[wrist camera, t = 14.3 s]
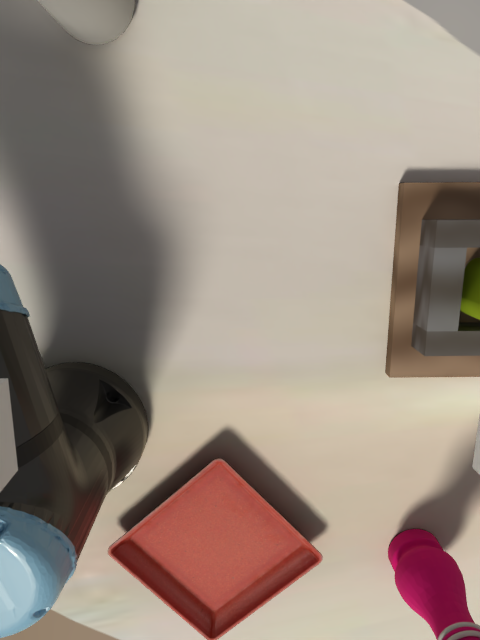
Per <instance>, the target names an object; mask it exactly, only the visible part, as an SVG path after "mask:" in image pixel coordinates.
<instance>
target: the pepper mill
mask: <svg viewBox="0 0 480 640" xmlns="http://www.w3.org/2000/svg"><path fill="white" fill-rule="evenodd" d="M388 557H389V560H390V562H391V565H392V567H393V569H394V571H395V582H396V586H397V589H398V591H399V592H400V594H401V596H402V598H403V599H404V601H405V602H406V603H407V604H408V605H409V606H410V607H411V609H413V610H414V611H415V612H416V613H417V614H419V615H420V616H421V617H422V618H424V619H425V620H426V621H427V622H428V624H429V625H430V627H431V628H432V630H433V632H434V634H435V636H436V639H437V640H480V626H479V625H477V624H475V623H474V621H473V619H472V617H471V615H470V613H469V611H468V607H467V601H466V591H465V584H464V580H463V576H462V573H461V571H460V569H459V567H458V565H457V563H456V562H455V560H454V559H453V558H452V557H451V556H450V555H449V554H448V553H446V552H445V551H443V549H442V547H441V546H440V544H439V542H438V541H437V539H436V538H435V537H434V536H433V535H432V534H431V533H429V532H427V531H425V530H421V529H410V530H406V531H404V532H402V533H400V534H399V535H397V536H396V537H395V538H394V539H393V541H392V542H391V544H390V546H389V549H388Z"/></svg>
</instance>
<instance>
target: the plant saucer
mask: <svg viewBox="0 0 480 640" xmlns="http://www.w3.org/2000/svg"><path fill="white" fill-rule="evenodd" d="M108 555H109V556H110V557H111V558H113V559H114V560H115V561H116V562H117V563H119V564H120V565H121V566H122V567H123V568H124V569H125V570H127V571H128V572H129V573H130V574H131V575H132V576H134V577H135V578H136V579H137V580H138V581H140V582H141V583H142V584H143V585H144V586H145V587H146V588H148V589H149V590H150V591H151V592H152V593H154V594H155V595H156V596H157V597H158V598H159V599H161V600H162V601H163V602H164V603H165V604H166V605H167V606H169V607H170V608H171V609H172V610H173V611H175V612H176V613H177V614H178V615H179V616H180V617H182V618H183V619H184V620H185V621H186V622H187V623H189V624H190V625H191V626H192V627H193V628H194V629H196V630H197V631H198V632H199V633H200V634H201V635H203V636H204V637H205V638H206V639H207V640H217V639H219V638H220V637H221V636H223V635H224V634H225V633H227V632H228V631H230V630H231V629H232V628H233V627H235V626H236V625H237V624H239V623H240V622H241V621H243V620H244V619H246V618H247V617H248V616H250V615H251V614H252V613H254V612H255V611H256V610H258V609H259V608H260V607H262V606H263V605H264V604H266V603H267V602H268V601H270V600H271V599H272V598H274V597H275V596H276V595H278V594H279V593H280V592H282V591H283V590H285V589H286V588H287V587H289V586H290V585H291V584H292V583H294V582H295V581H297V580H298V579H299V578H300V577H302V576H303V575H305V574H306V573H307V572H309V571H310V570H311V569H313V568H314V567H315V566H317V565H318V564H319V563H320V562H321V561H322V557H323V556H322V555H321V553H320V552H319V551H318V550H317V549H316V548H315V547H314V546H313V545H312V544H311V543H310V542H309V541H308V540H307V539H305V538H304V537H303V536H302V535H301V534H300V533H299V532H298V531H297V530H296V529H295V528H294V527H293V526H292V525H291V524H290V523H289V522H288V521H287V520H286V519H285V518H284V517H283V516H282V515H281V514H280V513H279V512H278V511H276V510H275V509H274V508H273V507H272V506H271V505H270V504H269V503H268V502H267V501H266V500H265V499H264V498H263V497H262V496H261V495H260V494H259V493H258V492H257V491H256V490H254V489H253V488H252V487H251V486H250V485H249V484H248V483H247V482H246V481H245V480H244V479H243V478H242V477H241V476H240V475H239V474H238V473H237V472H236V471H235V470H234V469H233V468H232V467H231V466H230V465H229V464H228V463H227V462H226V461H225V460H223V459H221V458H217V459H215V460H213V461H212V462H211V463H209V464H208V465H207V466H206V467H205V468H203V469H202V470H201V471H200V472H199V473H197V474H196V475H195V476H194V477H193V478H191V479H190V480H189V481H188V482H187V483H186V484H184V485H183V486H182V487H181V488H180V489H178V490H177V491H176V492H175V493H174V494H172V495H171V496H170V497H169V498H168V499H166V500H165V501H164V502H163V503H162V504H160V505H159V506H158V507H157V508H156V509H154V510H153V511H152V512H151V513H149V514H148V515H147V516H146V517H145V518H143V519H142V520H141V521H140V522H139V523H137V524H136V525H135V526H134V527H133V528H131V529H130V530H129V531H128V532H127V533H125V534H124V535H123V536H122V537H120V538H119V539H118V540H117V541H116V542H114V543H113V544H112V545H111V546H110V547H109V548H108Z"/></svg>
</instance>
